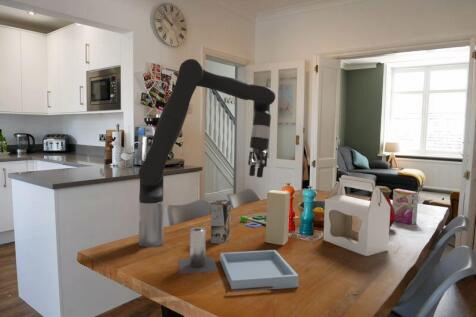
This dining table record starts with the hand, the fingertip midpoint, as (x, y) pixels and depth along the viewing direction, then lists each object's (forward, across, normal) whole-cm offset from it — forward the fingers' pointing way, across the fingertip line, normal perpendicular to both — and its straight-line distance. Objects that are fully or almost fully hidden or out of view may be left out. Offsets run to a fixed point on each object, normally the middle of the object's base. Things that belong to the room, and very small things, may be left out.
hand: (255, 176), depth 140 cm
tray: (+30, +29, -7) cm, 42 cm away
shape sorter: (+23, -31, +23) cm, 45 cm away
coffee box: (+28, -7, -9) cm, 31 cm away
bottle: (+18, -4, +68) cm, 71 cm away
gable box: (+23, +13, +41) cm, 49 cm away
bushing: (+31, +19, -24) cm, 43 cm away
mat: (+32, +18, -24) cm, 44 cm away
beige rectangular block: (+26, +1, +13) cm, 29 cm away
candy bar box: (+15, -10, +89) cm, 91 cm away
